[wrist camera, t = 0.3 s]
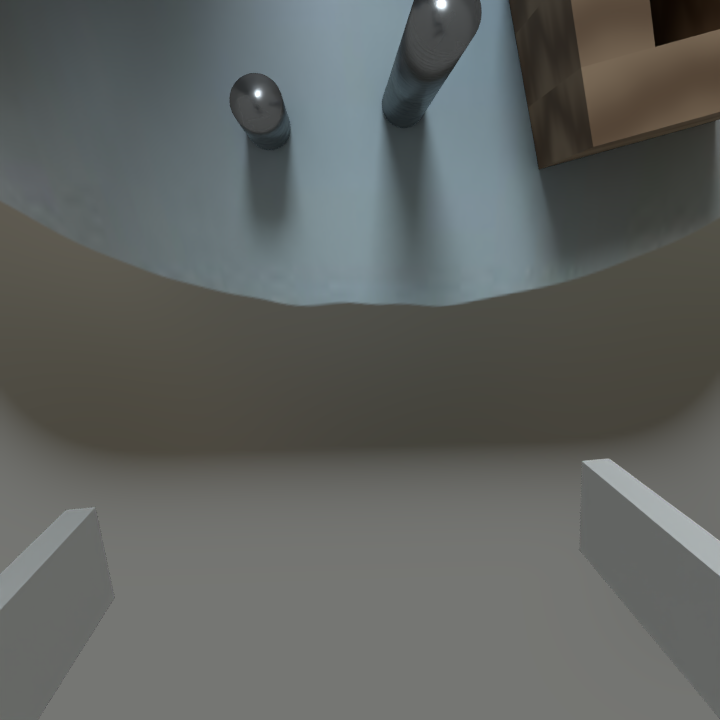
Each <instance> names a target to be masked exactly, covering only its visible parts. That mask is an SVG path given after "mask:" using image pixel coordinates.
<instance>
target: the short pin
mask: <svg viewBox="0 0 720 720" xmlns="http://www.w3.org/2000/svg"><path fill="white" fill-rule="evenodd" d="M230 107H231V110H232V113H233V115H234V116H235V118H236V119H237V121H238V122H239V124H240V125H241V126H242V128H243V129H244V131H245V132H246V134H247V135H248V136H249V138H250V139H251V141H252V142H253V143H254V144H255V145H256V146H258V147H260V148H262V149H265V150H274V149H277V148H279V147H281V146H282V145H283V144H284V143H285V142H286V141H287V139H288V137H289V134H290V121H289V118H288V114H287V111H286V108H285V105H284V102H283V99H282V96H281V93H280V90H279V88H278V86H277V85H276V84H275V82H274V81H273V80H271V79H270V78H269V77H267V76H265V75H263V74H259V73H250V74H246V75H244V76H242V77H241V78H239V79H238V80H237V81H236V82H235V84H234V85H233V87H232V89H231V93H230Z"/></svg>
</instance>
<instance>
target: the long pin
mask: <svg viewBox="0 0 720 720" xmlns="http://www.w3.org/2000/svg"><path fill="white" fill-rule="evenodd" d="M480 21H481V3H480V0H414V2H413V5H412V8H411V11H410V14H409V17H408V21H407V24H406V27H405V30H404V33H403V36H402V39H401V42H400V46H399V49H398V52H397V55H396V58H395V61H394V64H393V67H392V70H391V74H390V77H389V80H388V83H387V86H386V89H385V92H384V95H383V99H382V110H383V113H384V116H385V117H386V119H387V120H388V121H389V122H390V123H391V124H392V125H394V126H396V127H400V128H407V127H411V126H413V125H415V124H416V123H417V122H418V121H419V120H420V119H421V117H422V116H423V114H424V113H425V111H426V110H427V108H428V106H429V105H430V103H431V102H432V100H433V99H434V97H435V96H436V94H437V93H438V91H439V89H440V88H441V86H442V85H443V83H444V82H445V80H446V79H447V77H448V76H449V74H450V72H451V71H452V69H453V68H454V66H455V65H456V63H457V62H458V60H459V59H460V57H461V55H462V54H463V52H464V51H465V49H466V48H467V46H468V45H469V43H470V42H471V40H472V38H473V37H474V35H475V34H476V32H477V30H478V28H479V25H480Z"/></svg>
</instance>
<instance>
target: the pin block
mask: <svg viewBox="0 0 720 720" xmlns="http://www.w3.org/2000/svg"><path fill="white" fill-rule="evenodd" d="M509 3H510V8H511V14H512V20H513V25H514V31H515V36H516V42H517V48H518V53H519V59H520V65H521V70H522V76H523V82H524V87H525V93H526V99H527V104H528V110H529V115H530V121H531V127H532V132H533V138H534V144H535V149H536V155H537V161H538V166H539V169H542V168H546V167H549V166H553V165H557V164H560V163H564V162H567V161H571V160H575V159H578V158H582V157H586V156H589V155H593V154H596V153H600V152H604V151H607V150H611V149H614V148H618V147H622V146H625V145H629V144H632V143H636V142H640V141H643V140H647V139H651V138H654V137H658V136H661V135H665V134H669V133H672V132H676V131H679V130H683V129H687V128H690V127H694V126H698V125H701V124H705V123H708V122H712V121H716V120H718V119H720V0H509Z"/></svg>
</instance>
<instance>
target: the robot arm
mask: <svg viewBox="0 0 720 720" xmlns="http://www.w3.org/2000/svg"><path fill="white" fill-rule="evenodd" d="M581 477H582V478H581V512H580V514H581V515H580V552H581V553H582V554H583V555H584V556H585V558H586V559H587V560H588V561H589V562H590V564H591V565H592V566H593V567H594V568H595V570H596V571H597V572H598V573H599V574H600V576H601V577H602V578H603V579H604V580H605V582H606V583H607V584H608V585H609V586H610V588H611V589H612V590H613V591H614V592H615V594H616V595H617V596H618V597H619V598H620V600H621V601H622V602H623V603H624V604H625V606H626V607H627V608H628V609H629V610H630V612H631V613H632V614H633V615H634V616H635V618H636V619H637V620H638V621H639V622H640V624H641V625H642V626H643V627H644V628H645V630H646V631H647V632H648V633H649V634H650V636H651V637H652V638H653V639H654V641H655V642H656V643H657V644H658V645H659V647H660V648H661V649H662V650H663V651H664V653H665V654H666V655H667V656H668V657H669V659H670V660H671V661H672V662H673V663H674V665H675V666H676V667H677V668H678V669H679V671H680V672H681V673H682V674H683V675H684V677H685V678H686V679H687V680H688V681H689V683H690V684H691V685H692V686H693V687H694V689H695V690H696V691H697V692H698V693H699V695H700V696H701V697H702V698H703V699H704V701H705V702H706V703H707V704H708V705H709V707H710V708H711V709H712V710H713V711H714V713H715V714H716V715H717V716H718V717H719V719H720V541H719V540H718V539H717V538H715V537H714V536H713V535H711V534H710V533H709V532H707V531H706V530H705V529H703V528H702V527H701V526H699V525H698V524H696V523H695V522H694V521H693V520H691V519H690V518H688V517H687V516H686V515H684V514H683V513H682V512H680V511H679V510H678V509H676V508H675V507H674V506H672V505H671V504H670V503H668V502H667V501H666V500H664V499H663V498H662V497H660V496H659V495H658V494H656V493H655V492H653V491H652V490H651V489H649V488H648V487H647V486H645V485H644V484H642V483H641V482H640V481H639V480H637V479H636V478H635V477H633V476H632V475H630V474H629V473H628V472H626V471H625V470H624V469H622V468H621V467H620V466H618V465H617V464H616V463H614V462H613V461H611V460H610V459H600V460H589V461H582V475H581ZM113 599H114V593H113V588H112V583H111V578H110V573H109V569H108V565H107V559H106V554H105V550H104V545H103V540H102V535H101V531H100V527H99V521H98V516H97V512H96V508H95V507H91V508H80V509H70V510H65V511H64V512H63V513H62V514H61V515H60V516H59V517H58V518H57V519H56V520H55V521H54V522H53V523H52V524H51V525H50V526H49V527H48V528H47V529H46V530H45V531H44V532H43V533H42V534H41V535H40V536H39V537H38V538H37V539H36V540H34V541H33V542H32V543H31V544H30V545H29V546H28V547H27V548H26V549H25V550H24V551H23V552H22V553H21V554H20V555H19V556H18V557H17V558H16V559H15V560H14V561H13V562H12V563H11V564H10V565H9V566H8V567H7V568H6V569H5V570H4V571H2V572H1V573H0V720H38V719H39V717H40V716H41V714H42V713H43V711H44V709H45V708H46V706H47V705H48V703H49V701H50V700H51V698H52V697H53V695H54V693H55V692H56V690H57V689H58V687H59V685H60V684H61V682H62V681H63V679H64V678H65V676H66V674H67V673H68V671H69V670H70V668H71V666H72V665H73V663H74V662H75V660H76V658H77V657H78V655H79V654H80V652H81V651H82V649H83V647H84V646H85V644H86V643H87V641H88V639H89V638H90V636H91V635H92V633H93V631H94V630H95V628H96V627H97V625H98V623H99V622H100V620H101V619H102V617H103V615H104V614H105V612H106V611H107V609H108V607H109V606H110V604H111V603H112V601H113Z"/></svg>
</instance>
